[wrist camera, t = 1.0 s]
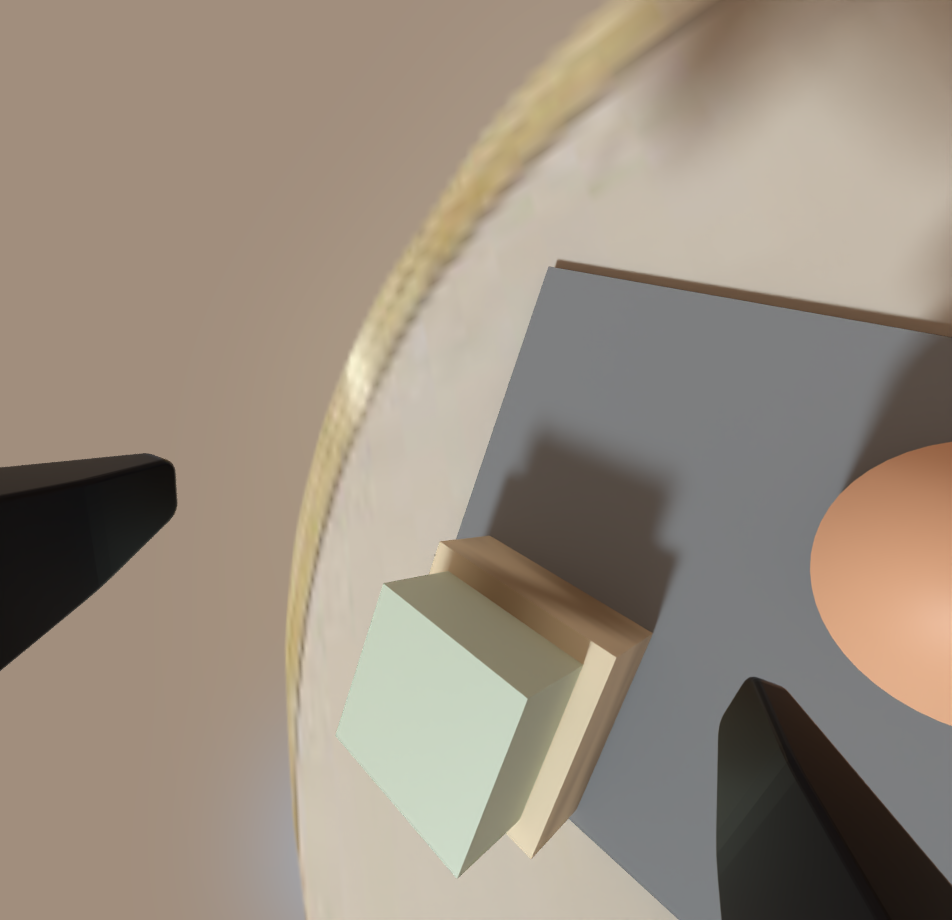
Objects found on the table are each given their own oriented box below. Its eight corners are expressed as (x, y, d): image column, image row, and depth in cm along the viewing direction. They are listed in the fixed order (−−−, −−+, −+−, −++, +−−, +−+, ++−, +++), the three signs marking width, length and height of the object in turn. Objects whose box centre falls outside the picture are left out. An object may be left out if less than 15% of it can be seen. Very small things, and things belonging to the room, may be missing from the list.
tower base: (653, 633, 16) (616, 657, 14) (576, 809, 18) (530, 858, 15) (489, 535, 20) (439, 541, 18) (437, 684, 22) (384, 708, 19)
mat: (1278, 400, 10) (1291, 397, 10) (855, 1067, 13) (855, 1081, 13) (553, 270, 20) (548, 266, 19) (416, 671, 23) (410, 673, 23)
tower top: (583, 664, 15) (528, 698, 12) (519, 819, 16) (457, 878, 13) (448, 571, 18) (383, 583, 15) (402, 704, 19) (335, 735, 16)
